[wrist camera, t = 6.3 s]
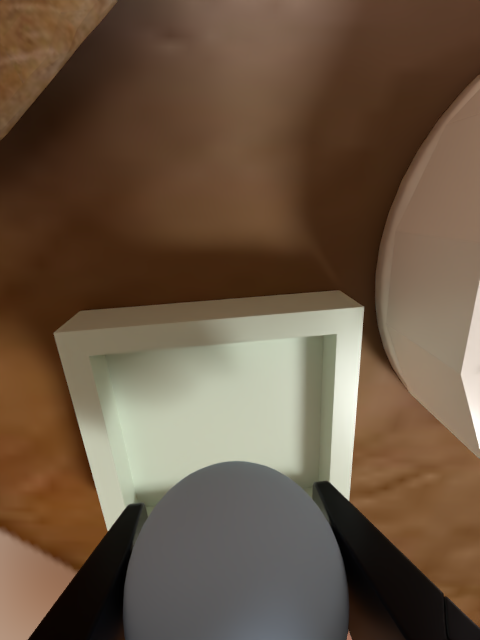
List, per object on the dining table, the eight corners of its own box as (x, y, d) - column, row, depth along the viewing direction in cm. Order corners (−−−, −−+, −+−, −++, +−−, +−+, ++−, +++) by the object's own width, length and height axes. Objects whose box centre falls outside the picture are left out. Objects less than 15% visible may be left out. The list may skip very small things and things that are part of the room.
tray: (338, 289, 12) (364, 306, 10) (329, 483, 15) (347, 524, 13) (79, 310, 11) (53, 332, 9) (127, 507, 14) (114, 554, 12)
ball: (309, 537, 10) (383, 788, 6) (159, 555, 10) (118, 834, 5) (312, 412, 8) (416, 630, 4) (133, 430, 8) (47, 682, 4)
